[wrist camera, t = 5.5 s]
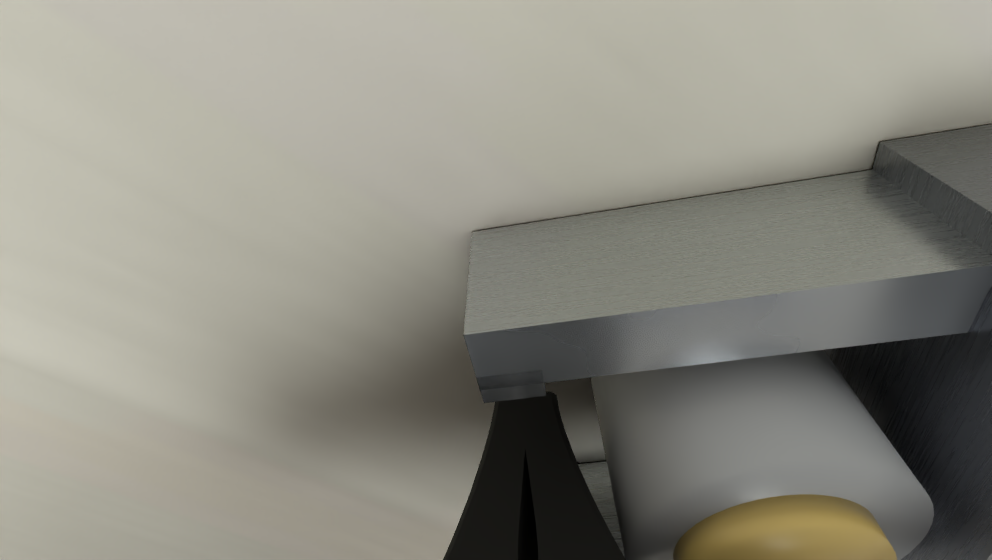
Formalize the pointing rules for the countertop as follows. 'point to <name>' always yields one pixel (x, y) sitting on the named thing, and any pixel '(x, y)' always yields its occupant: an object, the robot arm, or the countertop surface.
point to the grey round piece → (754, 464)
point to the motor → (776, 305)
